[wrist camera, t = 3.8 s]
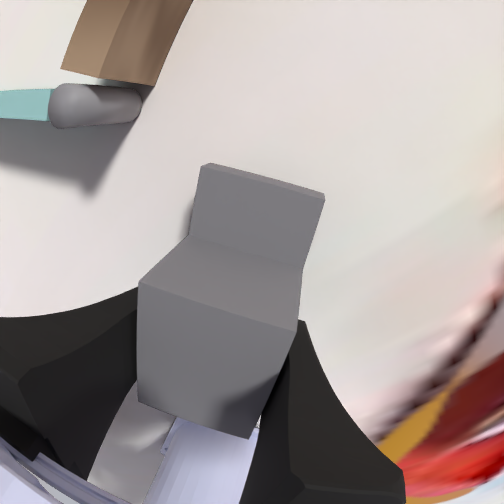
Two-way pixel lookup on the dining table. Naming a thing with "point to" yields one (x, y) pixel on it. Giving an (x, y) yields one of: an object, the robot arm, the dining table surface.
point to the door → (72, 105)
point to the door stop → (226, 300)
